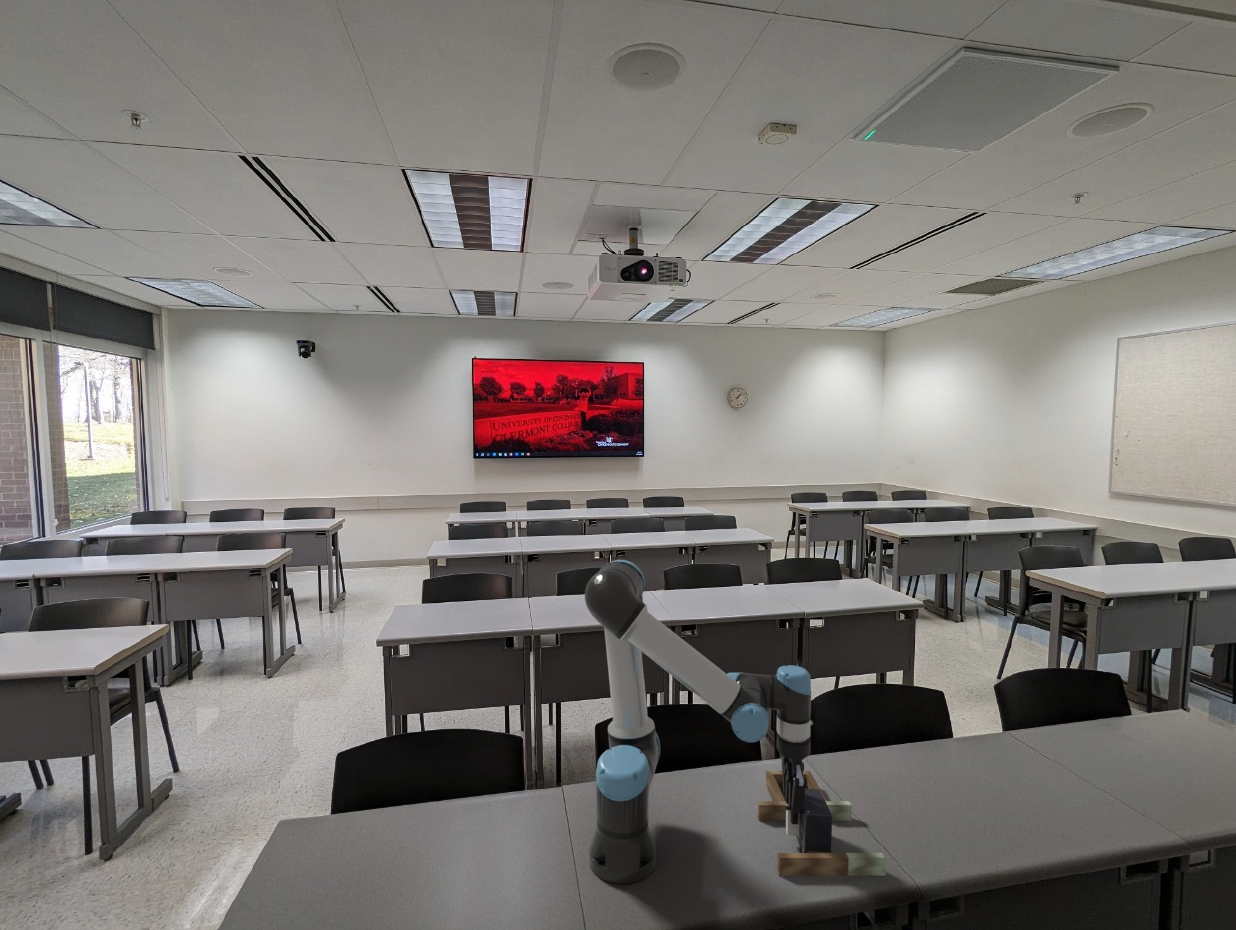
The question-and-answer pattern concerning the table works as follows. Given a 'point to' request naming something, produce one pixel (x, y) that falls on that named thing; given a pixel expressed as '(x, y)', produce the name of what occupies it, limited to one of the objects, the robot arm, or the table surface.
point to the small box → (815, 824)
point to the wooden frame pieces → (817, 861)
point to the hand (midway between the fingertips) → (792, 833)
